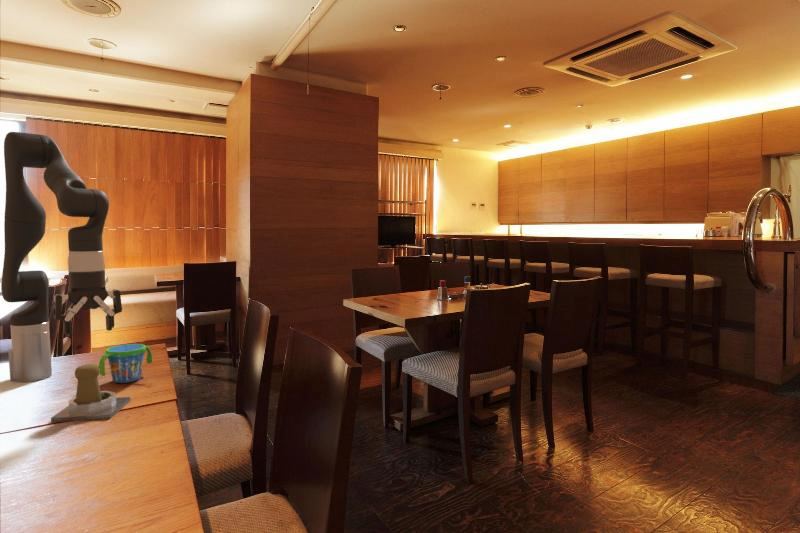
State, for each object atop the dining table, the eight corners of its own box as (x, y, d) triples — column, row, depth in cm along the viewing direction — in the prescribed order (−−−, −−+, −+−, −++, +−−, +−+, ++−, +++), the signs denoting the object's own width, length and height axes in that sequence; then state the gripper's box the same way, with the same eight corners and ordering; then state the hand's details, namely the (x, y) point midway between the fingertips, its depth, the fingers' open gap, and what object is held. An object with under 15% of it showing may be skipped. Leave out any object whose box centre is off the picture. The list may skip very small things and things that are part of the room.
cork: (102, 409, 115) (100, 366, 114) (72, 414, 112) (70, 370, 111) (104, 401, 120) (102, 360, 119) (76, 405, 117) (74, 363, 116)
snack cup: (143, 370, 150) (142, 340, 149) (161, 376, 144) (160, 344, 143) (91, 383, 137) (89, 350, 136) (108, 390, 131) (107, 355, 130)
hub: (51, 422, 110) (50, 408, 109) (77, 403, 122) (76, 390, 121) (110, 418, 112) (109, 405, 112) (130, 400, 124) (130, 388, 123)
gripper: (114, 266, 122) (116, 326, 124) (48, 269, 112) (51, 335, 113) (123, 268, 117) (126, 330, 119) (55, 272, 107) (59, 340, 108)
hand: (89, 332), depth 116 cm, fingers open, 8 cm apart
